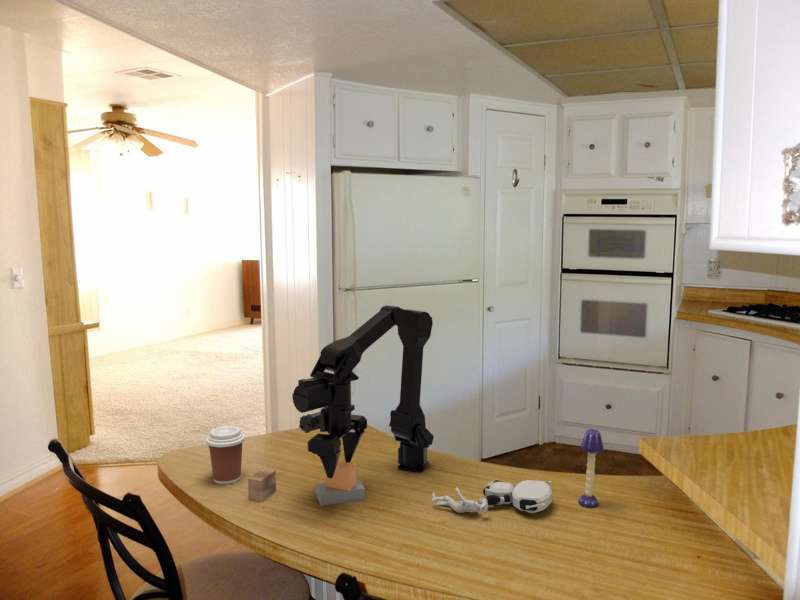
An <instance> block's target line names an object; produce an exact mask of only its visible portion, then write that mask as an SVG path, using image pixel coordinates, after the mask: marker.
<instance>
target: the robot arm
mask: <svg viewBox="0 0 800 600" xmlns="http://www.w3.org/2000/svg"><path fill="white" fill-rule="evenodd" d="M433 323H434V321H433V316H431V315H430V313H429V312H428V311H423V310H417V309H416V310H415V309H408V308H406V309H404V308H401V306H400V307H399V306H395V305H387V304H386V305H384V306H382V307H380V309H379V311H377V312H376V313H375V314H373V316H372V317H370V318H369V319H368V320H367V321H366V322H365V323H363V324H362V325H361V326H360V327H358V328H357V329H356V330H354V331H353V332H352V333H351V334H349V335H348V336H346V337H343V338H340V339H337V340H334V341H332V342H330V343H329V344H327V345H325V346H324V347H323V348H322V349H321V351H320V356H319V357H318V358H317V361H316V362H315V365H314V367H313V369H312V370H311V373H310V375H309V376H310V378H301V379H299V380H297V381H298V383H297V384H298V385H297V386H296V387H295V388H294V390H293V393H292V402H293V405H294V408H295V409H296V410H297V412H299V413H302V414H303V415H302V416H301V417H300V418H299V426H298V427H299V429H300V430H301V431H302V432H304V434H309V433H310V432H312V431H316V430H319V433H317V434H315V435H314V436H313V437H311V438H310V439H309V440H308V441H307V442H306V443H307V444H306V445H307V452H310V453H312V454H314V455H316V456H318V457H319V459H320V461H321V463H322V466H323V469H324V473H325V472H326V474H327V477H328V478H333V476H334V473H335V470H336V466H337V463H338V461H339V460H340V455H341V452H342V449H341V446H342V448H343V454H344V455H343V456H344V460H345V461H344V462H348V463H352V459H353V457H354V455H355V453H356V450H357V448H358V446H359V443H360V442H361V439H362V437H363V435H364V434H365V432H366V431H365V430H366V429H368V420H367V418H366V417H365V416H364V415H359V414H352V413H353V411H354V410H355V406H356V405H355V404H352V382H354V381H357V380H359V376H358V375H357V374H356V373H354V372H353V371H354V369H355V368H356V367H357V366H358V365H359V363H360V362H361V360H362V356H363V354H364V352H365V351H366V350H368V349H369V348H370V347H371V346H372V345H373V344H375V343H376V342H377V341H379V340H380V339H381V337H383V336H384V335H385V334H387V333H388V332H389V331H390V330H391V329H392V328H394V326H397V335H398V337H399V339H400V343H401V344H402V363H401V376H400V377H401V378H400V391H399V392H400V394H399V403H398V405H397V407H396V408H395V409H392V410H391V411H390V413H389V415H390V419H389V424H388V426H389V427H390V432H391V433H392V434H393V437H394V440H395V441H396V442H398V443H399V442H400V443H399V447H398V449H397V460H398V461H397V463H398V465H397V469H398V470H405V471H410V472H418V473H422V472H424V470H425V469H426V468H427V467H428V465H429V464H430V460H428V448H430V446H431V445H433V441H434V435H433V434H432V432H431V431H430V430H429V429H427V426H426V416H425V413H424V412H423V409H422V407H421V392H422V390H421V389H422V373H423V361H424V360H423V358H424V357H423V356H424V347H425V345H426V344H427V343H428V341H429V339H430V338H431V335H432V330H433ZM329 371H330V372H329ZM332 372H333V373H332ZM318 409H320V411H317V412H314V413H308V412H311V411H314V410H318ZM304 413H308V414H306V415H304ZM326 432H327V433H326ZM325 433H326V434H325Z"/></svg>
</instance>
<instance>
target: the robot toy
mask: <svg viewBox="0 0 800 600" xmlns="http://www.w3.org/2000/svg"><path fill="white" fill-rule="evenodd" d="M551 483H553V481H552V480H549V481H544V480H534V479H533V480H530V479H529V480H528V479H526V480H522V481H520V482H519V483H517V484H516V485H513V483H510V482H505V481H501V480H499V479H495V480H490V481H489V482H488V483H487V485H486V487H484V488H483V491H482V494H483V495H484V496H485V497H481V498H479V500H478V503H479V502H480V503H479V504H480V505H481V504H482V503H483V502H484V501H485V500H487V503H488V506H502V505H510V504H512V505H513V506H514V507H515V509H517V510H519V511H522V512H523V511H524V512H526V513H528V514H536V513H538V512H542V511H544V510H546V508H548V507H549V506H550V505H551V504H552V501H553V496H552V495H553V494H552V487H551V486H550V485H549V484H551Z"/></svg>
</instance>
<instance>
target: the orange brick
mask: <svg viewBox="0 0 800 600" xmlns="http://www.w3.org/2000/svg"><path fill="white" fill-rule="evenodd" d="M324 474H325V476H324V479H325V481H324V482H325V487H329V488H335V489H341V490H346V491H350V490H351V489H352V488H354V487H355V486H356V478H357V463H354V462H350V463H348V462H345V461H341V460H338V463H337V466H336V470H335V473H334V476H333V478H328V477H327V474H326V472H325V471H324Z"/></svg>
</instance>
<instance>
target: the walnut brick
mask: <svg viewBox="0 0 800 600" xmlns="http://www.w3.org/2000/svg"><path fill="white" fill-rule="evenodd" d="M276 475H277V474H276V470H275V469H269V468H261V469H260V470H258V471H257V472H256V473H254V474H252V475H251V476H250V477H248V478H247V488H248V490H247V492H248V500H249V501H255V502H260V503H262V502H264V501H265V500H266V499H267V498H269V497H270V496H271V495H273V494H274V493H275V492H276V491H277V477H276Z"/></svg>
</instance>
